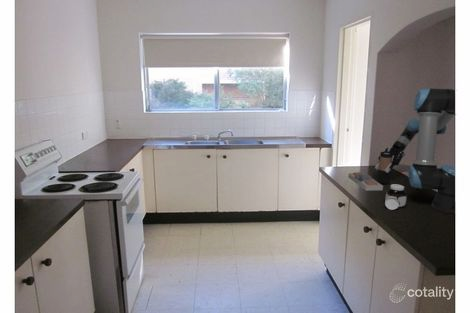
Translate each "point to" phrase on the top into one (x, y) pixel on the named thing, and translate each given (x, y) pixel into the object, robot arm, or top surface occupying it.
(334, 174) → the top surface
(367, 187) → the grey tray
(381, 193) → the top surface
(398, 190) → the spread jar
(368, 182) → the key
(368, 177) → the middle key
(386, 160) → the travel mug
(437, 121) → the robot arm
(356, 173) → the key
